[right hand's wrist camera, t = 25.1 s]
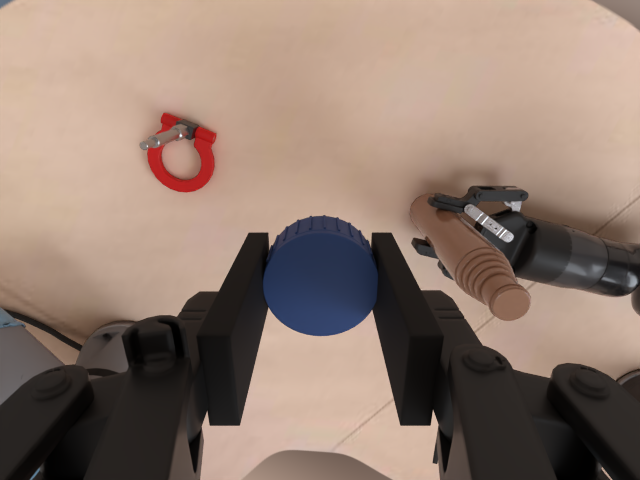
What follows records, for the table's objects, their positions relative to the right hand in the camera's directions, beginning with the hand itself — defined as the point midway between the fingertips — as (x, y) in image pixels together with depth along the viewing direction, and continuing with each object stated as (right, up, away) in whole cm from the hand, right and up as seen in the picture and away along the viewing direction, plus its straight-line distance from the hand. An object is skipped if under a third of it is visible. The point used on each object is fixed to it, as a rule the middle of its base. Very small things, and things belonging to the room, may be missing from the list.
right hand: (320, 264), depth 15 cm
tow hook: (-18, +12, +33) cm, 40 cm away
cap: (0, -1, -1) cm, 2 cm away
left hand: (+12, +3, +29) cm, 32 cm away
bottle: (+15, +5, +36) cm, 39 cm away
